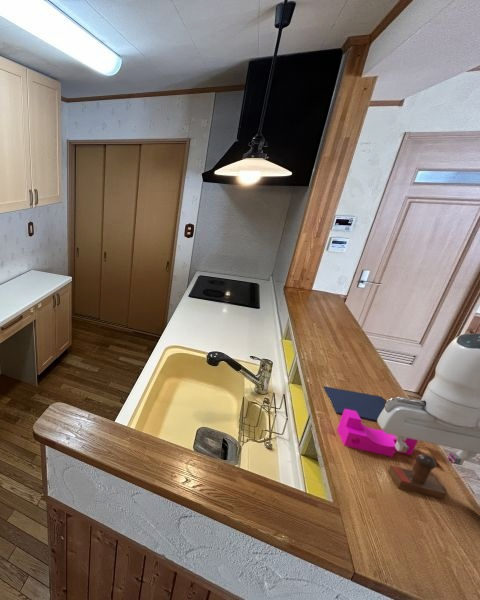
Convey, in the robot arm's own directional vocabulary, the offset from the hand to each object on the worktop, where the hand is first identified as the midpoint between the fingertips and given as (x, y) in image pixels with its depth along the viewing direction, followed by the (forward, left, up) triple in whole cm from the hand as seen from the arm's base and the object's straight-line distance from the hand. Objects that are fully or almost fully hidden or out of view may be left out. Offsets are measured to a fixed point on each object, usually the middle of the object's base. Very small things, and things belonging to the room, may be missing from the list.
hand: (426, 456), depth 73 cm
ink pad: (+1, -30, -9) cm, 31 cm away
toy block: (+3, -12, -9) cm, 15 cm away
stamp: (0, 0, -9) cm, 9 cm away
